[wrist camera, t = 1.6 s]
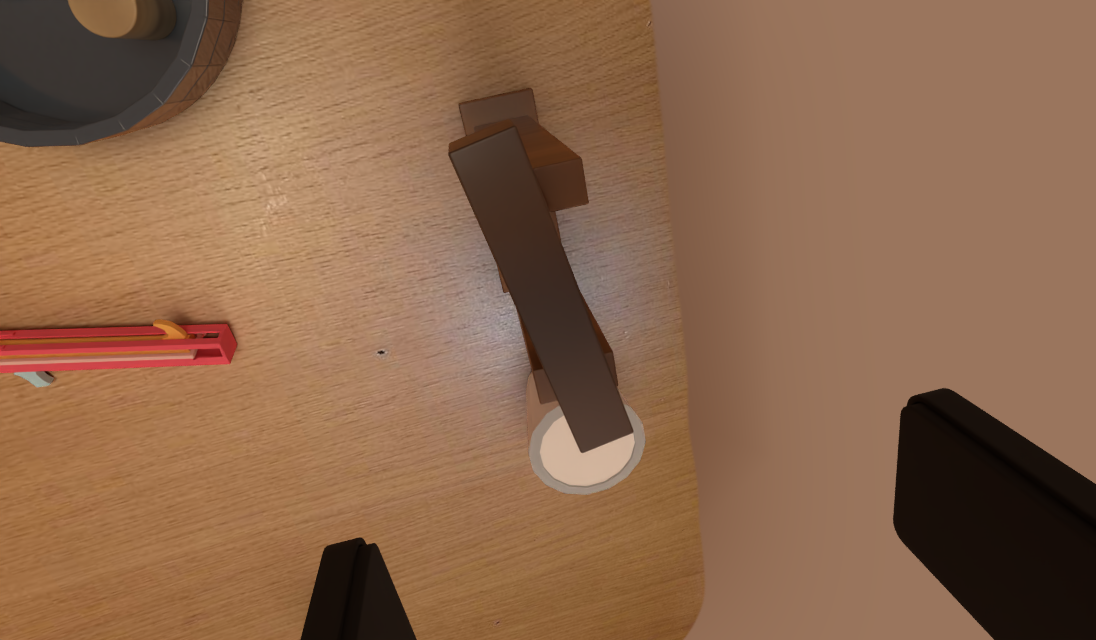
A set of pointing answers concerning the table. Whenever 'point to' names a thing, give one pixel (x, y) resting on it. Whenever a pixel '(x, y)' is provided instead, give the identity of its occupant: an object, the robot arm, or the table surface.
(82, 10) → the cork
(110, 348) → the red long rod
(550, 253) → the dark brown bar
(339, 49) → the table surface
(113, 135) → the bowl
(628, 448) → the beige cylinder
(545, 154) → the rest
